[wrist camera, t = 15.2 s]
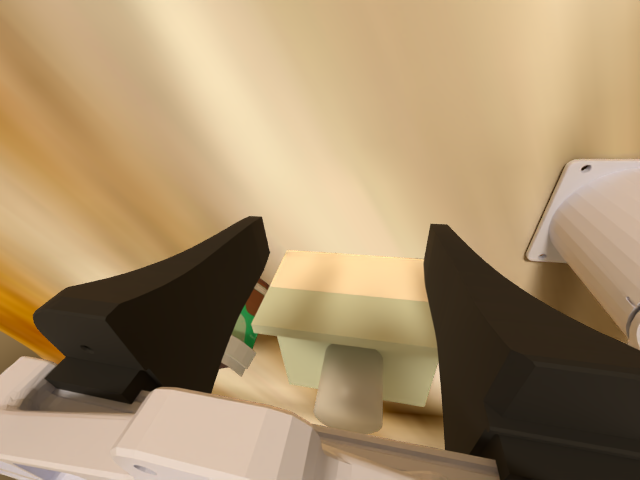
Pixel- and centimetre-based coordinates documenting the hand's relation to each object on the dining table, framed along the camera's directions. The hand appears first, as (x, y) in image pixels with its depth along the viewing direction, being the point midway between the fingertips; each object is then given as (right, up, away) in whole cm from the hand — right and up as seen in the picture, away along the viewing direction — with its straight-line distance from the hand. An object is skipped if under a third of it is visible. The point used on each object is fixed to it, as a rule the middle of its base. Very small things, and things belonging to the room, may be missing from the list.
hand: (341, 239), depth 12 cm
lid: (+2, -10, +13) cm, 17 cm away
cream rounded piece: (+2, -11, +13) cm, 17 cm away
